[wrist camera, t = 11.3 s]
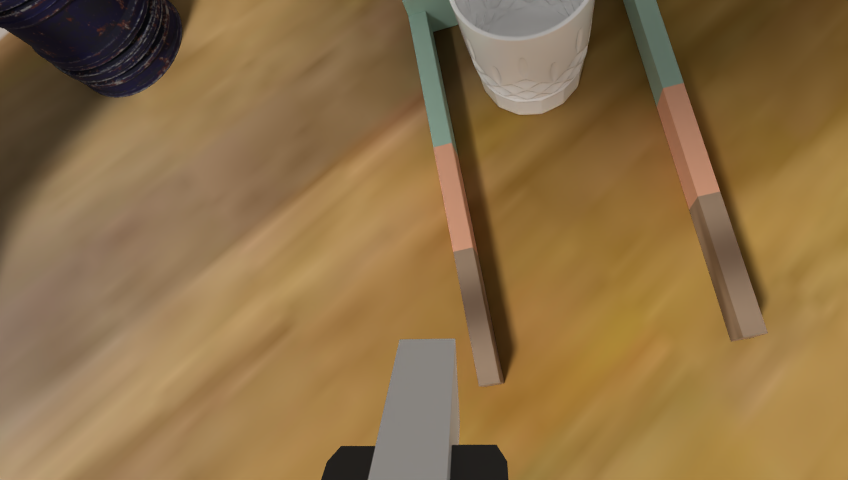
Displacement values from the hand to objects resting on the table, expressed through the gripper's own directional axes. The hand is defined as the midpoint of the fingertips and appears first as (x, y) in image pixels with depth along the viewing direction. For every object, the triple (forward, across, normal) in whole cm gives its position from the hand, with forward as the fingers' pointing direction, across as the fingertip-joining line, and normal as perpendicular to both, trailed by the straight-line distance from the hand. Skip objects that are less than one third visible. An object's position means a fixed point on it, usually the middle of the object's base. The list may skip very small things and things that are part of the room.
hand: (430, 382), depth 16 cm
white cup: (+29, +5, +5) cm, 30 cm away
